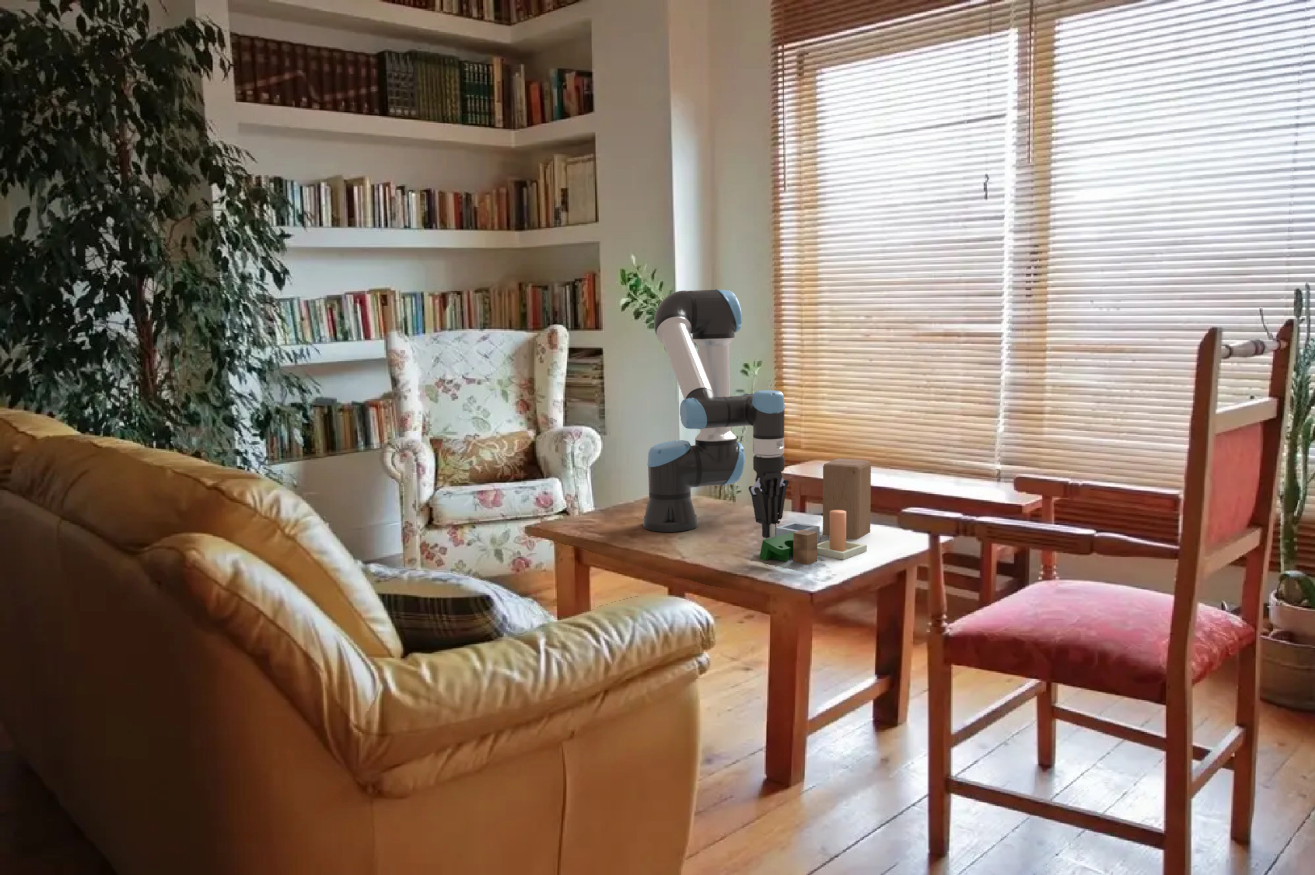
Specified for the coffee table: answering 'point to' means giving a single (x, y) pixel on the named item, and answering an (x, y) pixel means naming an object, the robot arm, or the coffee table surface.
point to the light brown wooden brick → (805, 547)
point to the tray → (850, 551)
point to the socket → (797, 529)
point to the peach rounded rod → (838, 530)
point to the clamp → (777, 547)
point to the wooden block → (848, 495)
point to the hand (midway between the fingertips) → (769, 549)
